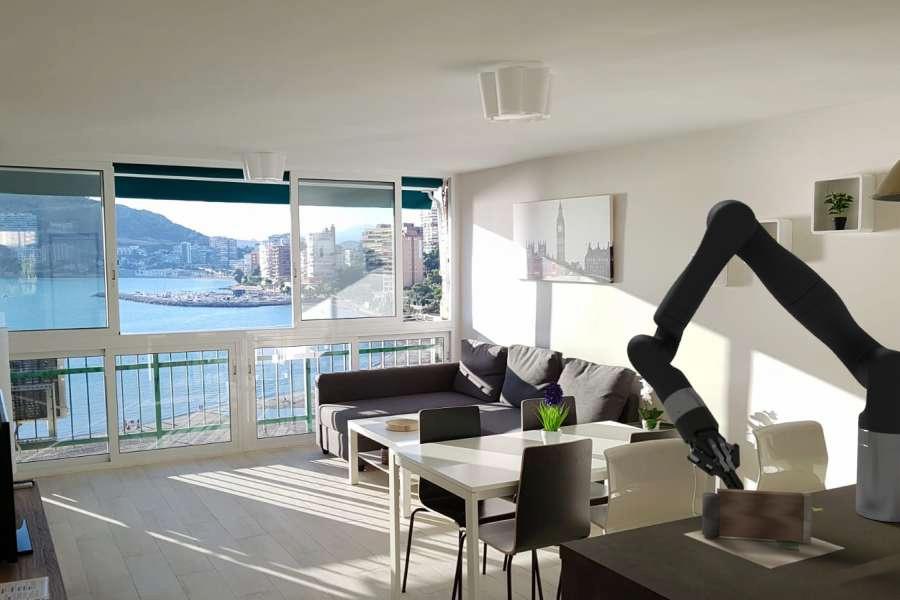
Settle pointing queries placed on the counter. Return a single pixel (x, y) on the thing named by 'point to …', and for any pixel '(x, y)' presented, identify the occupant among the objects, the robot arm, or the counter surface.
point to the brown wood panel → (757, 515)
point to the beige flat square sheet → (768, 549)
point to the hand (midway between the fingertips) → (738, 491)
